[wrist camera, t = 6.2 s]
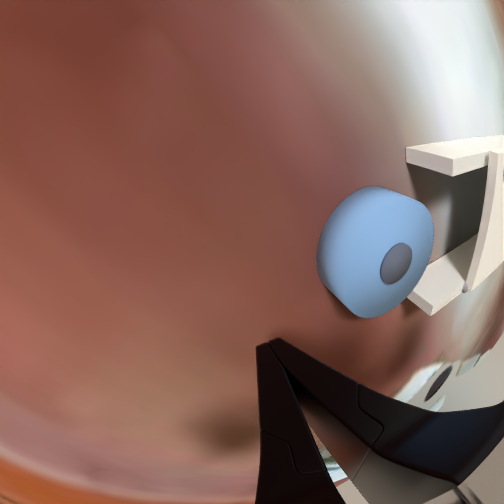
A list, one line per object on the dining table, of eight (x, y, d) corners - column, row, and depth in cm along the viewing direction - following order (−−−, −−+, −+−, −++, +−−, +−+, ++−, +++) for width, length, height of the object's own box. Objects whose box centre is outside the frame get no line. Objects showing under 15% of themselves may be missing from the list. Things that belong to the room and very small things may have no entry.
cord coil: (403, 175, 13) (441, 188, 11) (398, 270, 16) (427, 290, 14) (308, 202, 12) (345, 222, 10) (318, 309, 15) (344, 339, 12)
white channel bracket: (503, 134, 15) (533, 144, 12) (494, 227, 20) (520, 241, 17) (405, 147, 12) (460, 161, 9) (398, 291, 16) (435, 319, 14)
